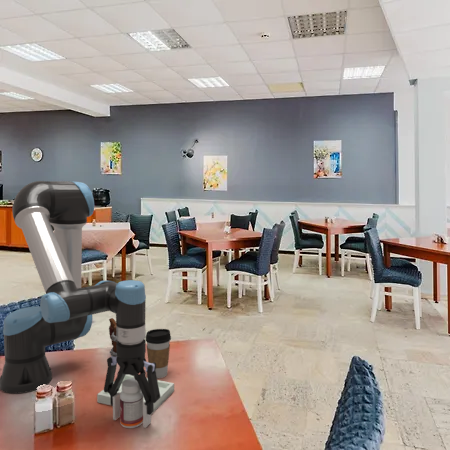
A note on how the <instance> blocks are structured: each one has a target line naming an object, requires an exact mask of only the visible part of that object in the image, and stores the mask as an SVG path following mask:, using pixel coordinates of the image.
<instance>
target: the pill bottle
mask: <svg viewBox="0 0 450 450" xmlns="http://www.w3.org/2000/svg"><path fill="white" fill-rule="evenodd" d="M119 421H120V422H119V424H120V425H121V426H122V427H123V428H126V429H135V428H137V427H140V426H141V425H142V424H143V394H142V392H141V389H140V387H139V384H138V382H137V380H135V378H129V379H126V380H124V381H123V382H122V392H121V393H120V417H119Z"/></svg>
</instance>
